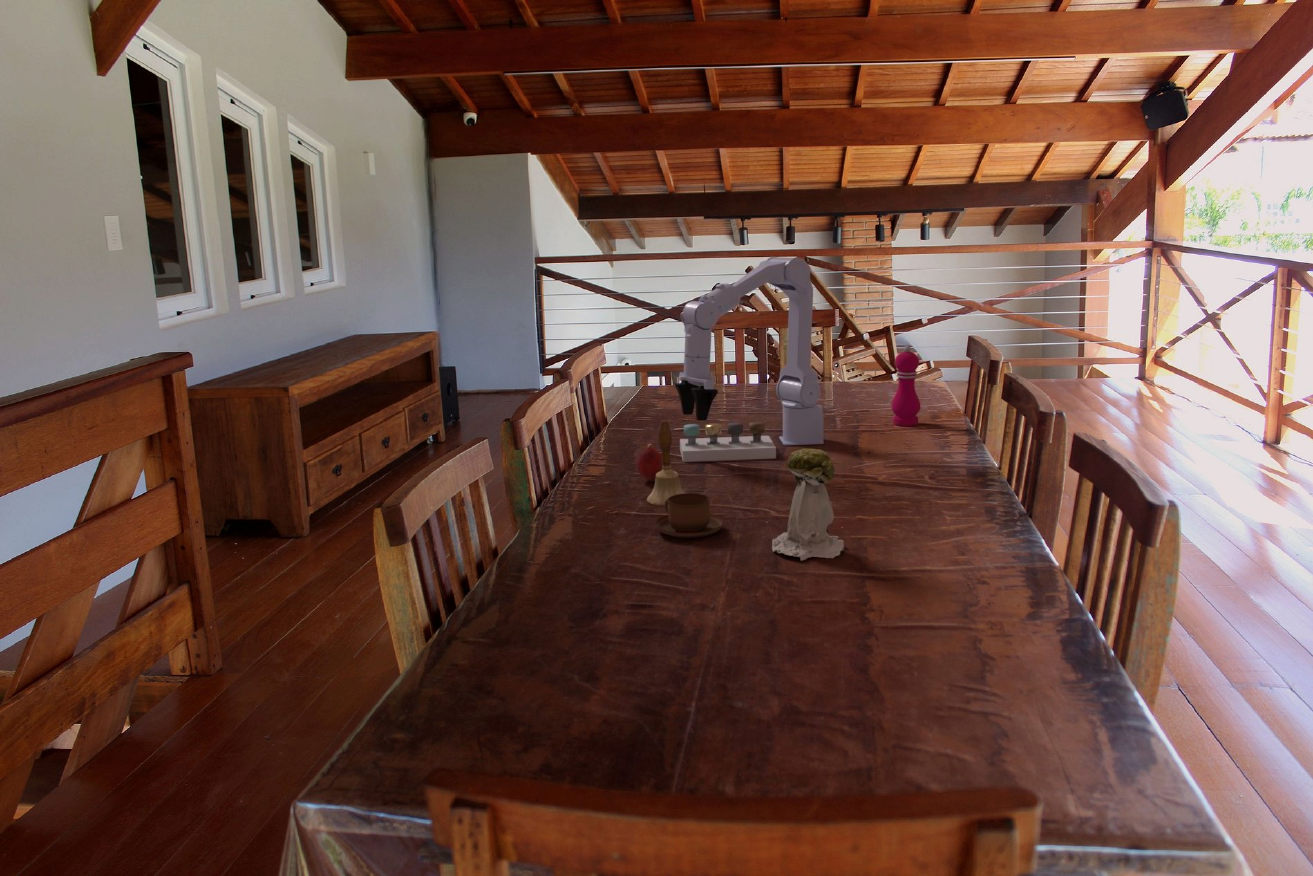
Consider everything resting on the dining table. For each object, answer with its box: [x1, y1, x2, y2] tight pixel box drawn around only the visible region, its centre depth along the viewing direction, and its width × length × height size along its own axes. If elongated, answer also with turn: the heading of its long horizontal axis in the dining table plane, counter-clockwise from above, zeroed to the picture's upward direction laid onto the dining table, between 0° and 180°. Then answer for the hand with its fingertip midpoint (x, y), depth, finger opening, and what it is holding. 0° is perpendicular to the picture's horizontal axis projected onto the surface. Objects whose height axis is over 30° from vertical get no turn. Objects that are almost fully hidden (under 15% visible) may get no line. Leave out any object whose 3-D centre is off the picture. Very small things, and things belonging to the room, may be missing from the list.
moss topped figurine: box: [771, 448, 845, 561], centre depth 165 cm, size 11×12×17 cm
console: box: [679, 435, 777, 463], centre depth 231 cm, size 21×12×2 cm, turn 92°
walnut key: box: [748, 421, 766, 442], centre depth 230 cm, size 4×4×4 cm
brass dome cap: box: [704, 422, 722, 444], centre depth 230 cm, size 4×4×4 cm
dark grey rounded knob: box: [726, 422, 744, 443], centre depth 230 cm, size 4×4×4 cm
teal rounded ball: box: [683, 423, 700, 445], centre depth 230 cm, size 4×4×4 cm
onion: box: [636, 443, 663, 482], centre depth 210 cm, size 6×6×8 cm
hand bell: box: [646, 419, 686, 507], centre depth 195 cm, size 8×8×16 cm
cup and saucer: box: [655, 492, 724, 539], centre depth 177 cm, size 12×12×6 cm
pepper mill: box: [890, 345, 921, 427], centre depth 253 cm, size 7×7×20 cm
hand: (694, 417), depth 223 cm, fingers open, 7 cm apart
